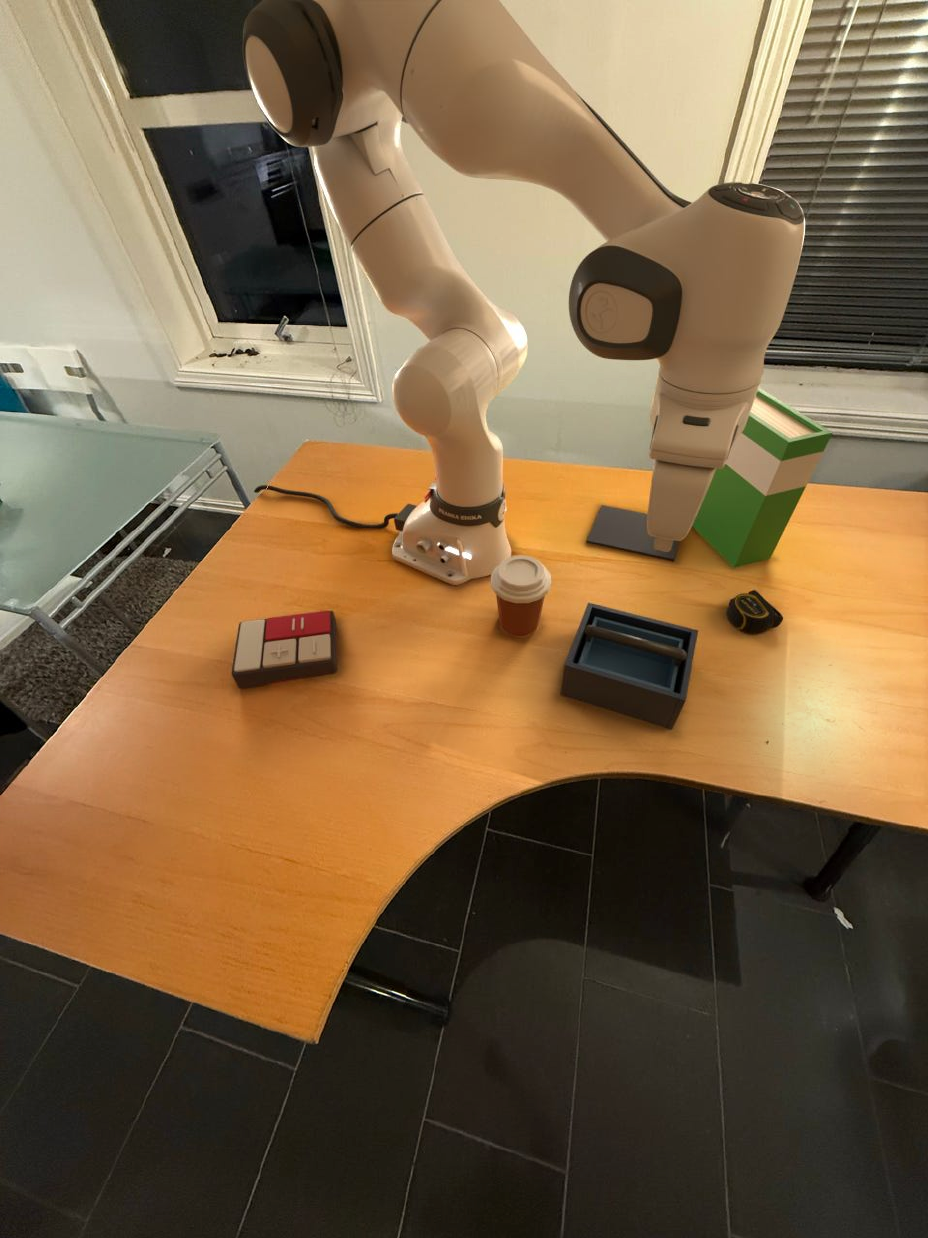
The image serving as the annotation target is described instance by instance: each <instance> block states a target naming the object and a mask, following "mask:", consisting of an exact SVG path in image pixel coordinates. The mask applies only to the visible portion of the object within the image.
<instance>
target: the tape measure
mask: <svg viewBox="0 0 928 1238" xmlns="http://www.w3.org/2000/svg"><path fill="white" fill-rule="evenodd" d="M725 614H726V617H727V620H728V622H729V623H730V624H731V625H732V626H733V627H734V628H736V629H737V630H739V631H741V632H743V633H746V634H751V635H758V634H763V633H765V632H767V631H769V630H770V629H771V630H772V629H775V628H778V627H779V626H780V625H782V623H783V622H784V621H783V620H784V616H783V614H782V613H781V612H780V611H779V610H778V609H776V607H774V606H773V605H772V604H771V603H770V602H769V601H768V600H766V598H764V597H763V595H761V594H760V592H759V591H757V590H756V589H752V590H750V591H748V592H743V593H739V594H737V595H736V596H734V597H732V598H730V599H729V601H728V607H727V609H726V613H725Z"/></svg>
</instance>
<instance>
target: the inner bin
mask: <svg viewBox="0 0 928 1238" xmlns="http://www.w3.org/2000/svg"><path fill="white" fill-rule="evenodd" d="M585 634H586V638H585V641H586V643H585V645H584V648H583V651H582V654H581V657H580V660H579V662H578V664H579V665H582V666H585V667H589V668H592V669H596V670H599V671H603V672H606V673H610V674H613V675H616V676H620V677H623V678H627V679H630V680H634V681H637V682H640V683H644V684H647V685H651V686H654V687H658V688H661V689H664V690H668V691H671V692H674V686H675V681H676V676H677V671H678V667H680V665H681V662H682V661H683V660H685V659H686V657H687V653H686V651H685V650H683V649H682V646H683V641H684V640H683V639H679V638H676V637H672V636H668V635H664V634H660V633H656V632H652V631H649V630H645V629H641V628H637V627H633V626H629V625H626V624H622V623H618V622H614V621H610V620H606V619H603V618H599V617H594V620H593V623H592V625H588V626H587V627H586V628H585Z"/></svg>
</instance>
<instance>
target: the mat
mask: <svg viewBox="0 0 928 1238" xmlns="http://www.w3.org/2000/svg"><path fill="white" fill-rule="evenodd" d="M647 515H648V513H645V512H639V511H635V510H630V509H624V508H618V507H615V506H610V505H603V504H601V506H600V507H599V511H598V513H597V515H596V517H595V520H594V522H593V525H592V527H591V529H590V532H589V534H588V536H587V539H586V544H591V545H594V546H599V547H602V548H603V547H604V548H609V549H614V550H618V551H621V552H626V553H632V554H636V555H641V556H644V557H650V558H654V559H658V560H663V561H668V562H671V563H674V562H675V561H676V558H677V554H678V550H679V549H678V548H679V546H680V545H679V544H680V541H675V540H673V544H672V547H671V550H670V551H669V552H663V551H658V550H655V549H654V547H653V546H654V542H655V538H656V537H654V536H651V535H649V534H648V531H647Z"/></svg>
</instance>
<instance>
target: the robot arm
mask: <svg viewBox="0 0 928 1238" xmlns="http://www.w3.org/2000/svg"><path fill="white" fill-rule="evenodd" d="M242 29H243V30H242V44H241V45H242V47H241V48H242V58H243V64H244V69H245V73H246V76H247V80H248V83H249V86H250V89H251V91H252V95H253V97H254V99H255V101H256V103H257V106H258V107H259V108H258V109H260V111H261V113H262V115H263V117H264V118H265V120H266V121H267V123H268V124H269V126H270V127H271V128H272V129H273V131H275V132H276V133H277V134H278V135H279V136H280V137H281V138H282V139H283V140H284V141H285V142H286V143H288V144H290V146H293V147H296V148H312V147H314V152H313V159H314V160H313V161H314V166H315V170H316V173H317V176H318V179H319V182H320V184H321V187H322V190H323V192H324V196H325V197H326V200H327V203H328V205H329V207H330V209H331V211H332V214H333V216H334V218H335V220H336V221H335V222H336V223H337V226H339V229H340V231H341V233H342V235H343V237H344V239H345V240H346V243H347V244H348V246H349V248H350V250H351V251H352V253H353V255H354V257H355V259H356V261H357V262H358V265H359V266H360V268H361V269H362V272H363V273H364V275H365V277H366V278H367V280H368V282H369V284H370V286H371V287H372V289H373V291H374V293H375V295H376V296H377V298H378V300H379V302H380V304H381V305H382V306H383V307H384V309H385V310H386V311H387V312H389V313H391V314H392V315H393V316H394V315H395V316H396V317H400V318H404V319H405V320H407V321H408V322H410V323H412V324H413V325H414V326H415V327H417V329H418V330H420V332H421V333H422V334H423V335H424V336H425V337H426V338H427V340H428V342H426V343H425V344H424V345H422V346H420V347H418V348H417V349H416V350H414V351H413V352H412V354H411V355H410V356H409V357H408V358H407V359H406V361H405V362H404V363H403V364H402V365H401V367H400V368H399V370H397V372H396V373H395V374H394V376H393V379H392V384H391V395H392V400H393V405H394V407H395V410H396V412H397V414H398V416H399V418H401V420H402V421H403V423H404V424H405V425H406V426H407V427H408V428H409V429H410V430H412V431H414V432H415V433H417V434H418V435H421V436H423V437H425V439H426V441H427V442H428V444H429V447H430V450H431V453H432V454H431V455H432V460H433V466H434V473H435V477H434V482H432V483H431V484H430V486H429V487H428V491H427V492H426V493H425V495H424V497H423V499H424V501H422V502H420V503H419V504H418V505H417V504H411V503H407V504H406V505H405V506H404V507H403V508H402V509H401V511H399V512H392V513H388V514H386V515H385V516H384V518H383V522H381V523H376V524H367V523H360V522H356V521H353V520H350V519H347V518H344V517H342V516H340V515H339V513H337V511H336V509H335V508H334V506H333V504H332V503H331V502H330V501H329V499H327V498H325V497H324V496H323V495H320V494H316V493H312V492H307V491H300V490H292V489H291V490H290V489H286V488H285V489H284V488H281V487H277V486H274V485H269V484H261V485H258V486H257V487H255V489H254V490H253V492H254V493H256V494H257V493H260V492H261V491H263V490H264V491H265V490H267V491H272V492H275V493H280V494H284V495H288V496H297V497H298V496H299V497H305V498H311V499H316V500H318V501H320V502H322V503H323V504H324V505H326V507H327V509H328V511H329V513H330V514H331V516H332V517H333V518H334V519H335V520H337V521H338V522H340V523H342V524H345V525H347V526H350V527H353V528H358V529H375V530H376V529H378V530H381V529H385V528H386V527H388V526H389V524H390V520H392V519H393V522H394V525H395V526H394V527H395V531H399V533H398V535H397V536H396V538H395V540H394V542H393V544H392V548H391V551H392V558H393V559H394V560H395V561H397V562H399V563H401V564H404V565H406V566H408V567H411V568H413V569H415V570H418V571H420V572H421V573H424V574H426V575H429V576H431V577H433V578H435V579H438V580H440V581H442V582H444V583H447V584H449V585H451V586H459V585H462V584H464V583H466V582H468V581H470V580H474V579H479V578H484V577H488V576H491V574H492V573H493V571H494V569H495V568H496V567H497V566H498V565H500V563H501V562H502V561H503V560H505V559H506V558H508V557H512V547H511V544H510V542H509V539H508V535H507V529H506V524H505V523H506V522H505V517H506V512H507V500H506V499H507V498H506V486H505V483H504V476H503V475H504V448H503V443H502V441H501V440H500V438H499V437H498V436H497V435H496V434H495V433H493V432H492V431H491V430H489V427H488V424H487V418H486V417H487V411H488V408H489V404H490V403H491V401H492V400H493V399H494V398H496V397H497V396H498V395H499V394H500V393H502V392H503V391H504V390H505V389H506V388H507V387H508V386H509V385H511V384H512V383H513V381H514V380H515V378H516V377H517V376H518V373H519V372H520V371H521V369H522V367H523V365H524V363H525V361H526V358H527V355H528V350H529V349H528V347H529V346H528V338H527V334H526V331H525V329H524V326H523V325H522V323H521V321H519V319H517V317H516V316H515V315H513V314H512V313H510V312H508V311H506V310H504V309H502V308H500V307H498V306H497V305H495V304H494V303H493V302H492V301H491V300H490V299H489V298H488V297H487V296H486V295H485V294H484V293H483V291H481V289H480V288H479V287H478V286H477V284H475V282H474V281H473V280H472V279H471V277H470V276H469V275H468V274H467V272H466V271H465V269H464V267H463V266H462V264H460V262H459V261H458V258H457V257H456V255H455V253H454V252H453V250H452V248H451V245H449V243H448V241H447V238H446V236H445V234H444V233H443V231H442V228H441V227H440V224H439V223H438V220H437V218H436V216H435V215H434V212H433V210H432V209H431V206H430V204H429V202H428V200H427V198H426V196H425V193H424V192H423V190H422V188H421V186H420V184H419V182H418V180H417V178H416V177H415V174H414V173H413V171H412V169H411V167H410V165H409V163H408V161H407V159H406V156H405V153H404V150H403V147H402V141H401V127H402V122H403V123H405V124H407V125H409V126H410V127H411V129H412V130H413V131H414V133H416V135H417V136H418V137H419V139H420V140H421V141H422V142H423V144H424V145H425V146H426V147H427V148H428V149H429V151H431V152H432V153H433V154H434V155H435V156H436V157H438V158H439V159H440V160H441V161H442V162H444V164H446V165H448V166H449V167H450V168H451V169H452V170H454V171H456V172H457V173H459V174H460V175H463V176H465V177H469V178H474V179H485V180H503V181H505V180H506V181H515V182H523V183H529V184H534V185H537V186H541V187H545V188H547V189H550V190H551V191H554V192H556V193H557V194H559V195H560V196H562V197H563V198H565V200H567V201H568V202H569V203H571V205H572V206H573V207H574V208H575V209H576V210H577V211H578V213H580V214H581V216H583V217H584V218H585V219H586V221H587V222H588V223H589V224H590V225H591V226H592V227H593V228H594V229H595V230H596V231H597V233H599V235H600V236H602V238H603V239H604V240H605V241H606V242H604V243H602V244H601V245H599V246H598V247H597V248H595V249H594V250H592V251H591V252H589V253H588V254H587V255H586V256H585V257H584V258H583V259H582V261H581V262H580V263H579V264H578V266H577V267H576V269H575V272H574V274H573V276H572V279H571V283H570V285H569V286H570V288H569V291H568V314H569V320H570V323H571V327H572V330H573V332H574V334H575V335H576V338H577V339H578V341H579V342H580V343H581V345H582V346H583V347H584V348H585V349H586V350H587V351H589V352H590V353H591V354H592V355H594V356H597V357H599V358H602V359H606V360H618V361H647V360H648V361H649V360H657V361H658V363H659V367H658V373H657V377H656V382H655V387H654V393H653V397H652V403H651V408H650V413H649V421H650V422H649V423H650V425H651V426H650V427H651V433H652V434H651V441H650V444H649V452H648V457H649V459H651V460H653V467H652V474H651V482H650V483H651V484H650V490H649V496H648V497H649V498H648V506H647V514H648V515H647V531H648V534H649V535H651V536H654V537H656V538H655V542H654V546H653V547H654V549H655V550H658V551H663V552H669V551H670V550H671V547H672V544H673V540H675V541H679V542H681V541H683V540H684V539H685V538H686V537H687V536H688V534H689V533H690V531H691V529H692V528H693V527H692V525H693V522H694V520H695V518H696V516H697V513H698V511H699V509H700V507H701V504H702V502H703V500H704V497H705V495H706V493H707V490H708V488H709V486H710V483H711V481H712V478H713V476H714V473H715V470H716V468H719V469H721V468H723V467H724V465H725V463H726V460H727V458H728V455H729V452H730V449H731V446H732V444H733V443H734V441H735V440H736V439H737V437H738V436H739V434H740V433H741V432H742V431H743V430H744V428H745V426H746V423H747V420H748V417H749V414H750V411H751V408H752V405H753V402H754V399H755V396H756V394H757V391H758V388H759V387H760V386H761V385H760V384H761V382H762V379H763V375H764V370H765V369H764V368H765V357H766V352H767V349H768V347H769V345H770V343H771V342H772V340H773V338H774V336H775V335H776V333H778V330H779V328H780V326H781V323H782V320H783V319H784V315H785V312H786V310H787V305H788V303H789V300H790V296H791V293H792V290H793V286H794V283H795V279H796V275H797V271H798V267H799V264H800V259H801V254H802V252H803V251H802V250H803V246H804V239H805V231H806V218H805V217H806V216H805V213H804V210H803V208H802V207H801V206H800V205H801V204H800V203H799V202H798V200H796V199H795V198H793V197H792V196H791V195H790V194H789V193H787V192H785V191H784V190H781V189H778V188H776V187H774V186H773V187H772V186H770V185H765V184H761V183H757V182H741V181H729V182H723V183H719V184H715V185H713V186H711V187H710V188H708V189H707V190H705V191H704V193H702V194H701V195H700V196H699V197H698V198H697V199H696V200H694V201H693V202H691V201H689V200H686V199H685V198H682V197H679V196H677V195H676V194H674V192H672V191H670V190H669V189H668V188H667V187H666V186H665V185H663V183H661V181H660V180H659V179H658V178H657V177H656V176H655V175H654V174H653V172H652V171H651V170H650V169H649V168H648V167H647V166H646V165H645V163H643V162H642V160H641V159H640V158H639V157H638V156H637V155H636V153H634V152H633V151H632V149H631V148H630V147H628V145H627V144H626V143H625V142H624V141H623V139H622V138H621V137H620V136H619V135H618V134H617V132H615V130H614V129H613V128H612V127H611V126H610V125H609V124H608V123H607V122H606V121H605V120H604V119H603V118H602V117H601V116H600V115H599V114H598V112H597V111H596V110H595V109H594V108H593V107H591V106H590V105H589V104H588V102H586V101H585V100H584V99H583V98H582V97H581V95H579V93H578V92H577V91H576V90H575V89H574V88H573V87H572V86H571V85H570V84H569V82H568V81H567V80H566V79H565V78H564V77H563V76H562V75H561V73H560V72H559V71H558V70H557V69H556V68H555V67H554V66H553V65H552V64H551V63H550V61H549V60H548V59H547V58H546V57H545V56H544V54H543V53H542V52H541V51H540V50H539V48H538V47H537V46H536V45H535V43H534V42H533V41H532V40H531V38H530V37H529V36H528V35H527V33H525V31H524V30H523V29H522V27H521V26H520V25H519V24H518V22H517V21H516V19H514V17H513V16H512V15H511V14H510V12H509V11H508V10H507V9H506V7H505V6H504V5H503V3H502V2H501V0H261V1H260V2H259V3H257V5H255V6H254V8H252V9H251V11H249V13H248V14H247V15H246V18H245V20H244V24H243V28H242ZM268 485H269V486H268ZM267 486H268V488H267ZM266 488H267V489H266Z"/></svg>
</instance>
